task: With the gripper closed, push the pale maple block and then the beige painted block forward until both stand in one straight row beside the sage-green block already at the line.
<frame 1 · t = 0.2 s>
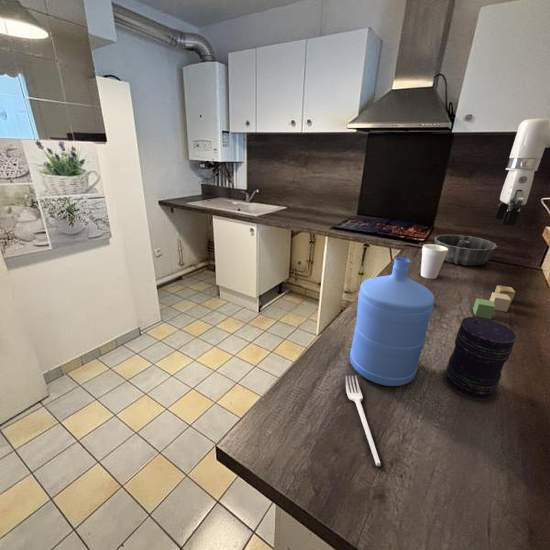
hand: (504, 221, 94), 29 cm above the worktop, tool pointing down, fingers open, 9 cm apart
dark blue cylinder: (467, 384, 67), on the worktop
bundt pan: (459, 260, 147), on the worktop
foam cup: (428, 276, 127), on the worktop
maple block: (502, 299, 107), on the worktop
fork: (361, 418, 58), on the worktop
water jug: (381, 365, 73), on the worktop
sage block: (481, 314, 97), on the worktop
beige block: (497, 307, 101), on the worktop
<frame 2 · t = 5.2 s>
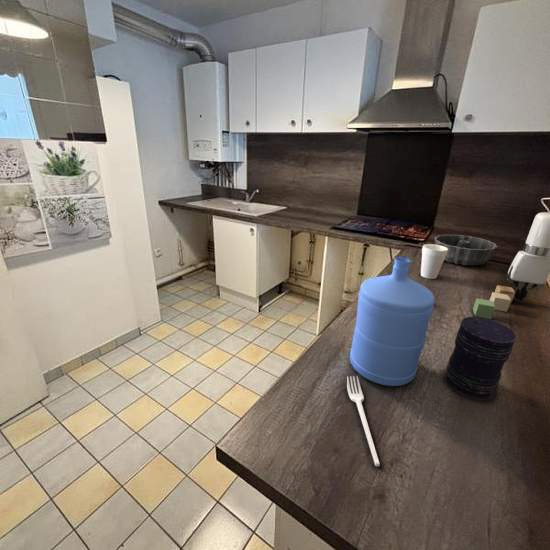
hand: (518, 298, 105), 1 cm above the worktop, tool pointing down, fingers closed
maple block: (502, 299, 107), on the worktop, touching gripper
everything else where it was.
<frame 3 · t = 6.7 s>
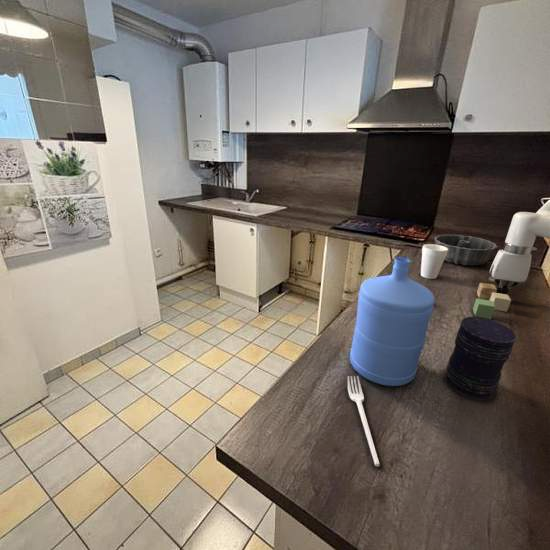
hand: (500, 296, 107), 1 cm above the worktop, tool pointing down, fingers closed
maple block: (484, 296, 109), on the worktop, touching gripper
everything else where it was.
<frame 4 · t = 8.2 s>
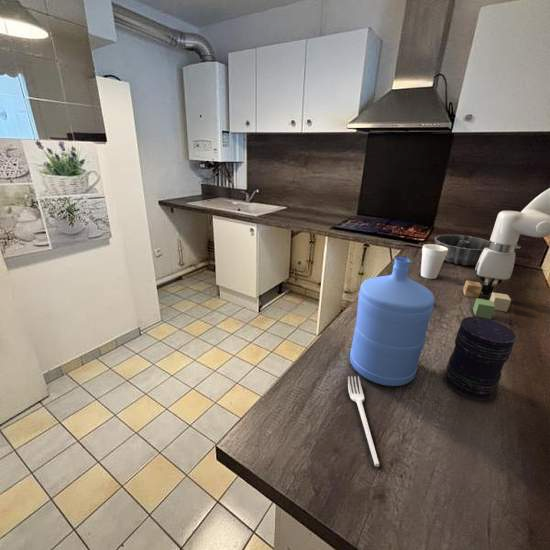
hand: (485, 294, 108), 1 cm above the worktop, tool pointing down, fingers closed
maple block: (470, 294, 111), on the worktop, touching gripper
everything else where it was.
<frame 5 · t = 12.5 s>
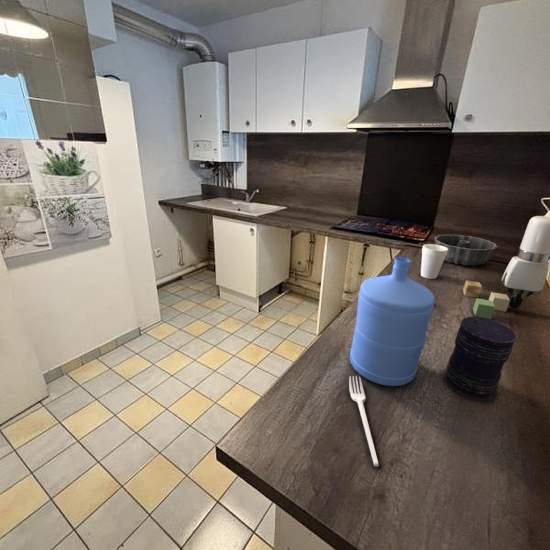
hand: (513, 306, 99), 1 cm above the worktop, tool pointing down, fingers closed
maple block: (470, 294, 111), on the worktop
beige block: (496, 307, 101), on the worktop, touching gripper
everything else where it was.
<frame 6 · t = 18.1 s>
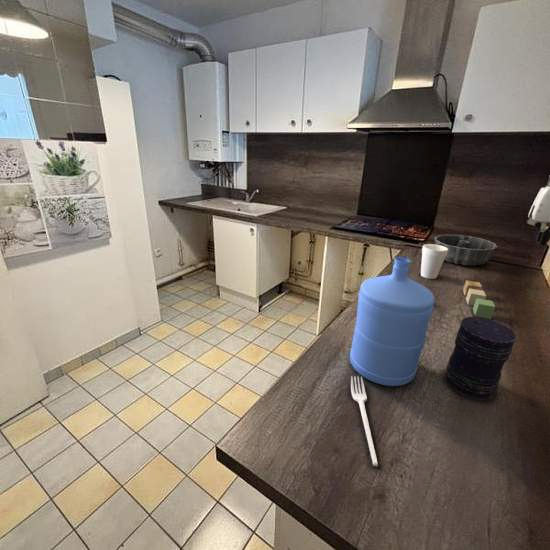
hand: (540, 243, 93), 23 cm above the worktop, tool pointing down, fingers closed
beige block: (473, 303, 104), on the worktop
everything else where it was.
at the end: maple block 0.8 cm from the target spot, on the worktop; beige block 0.9 cm from the target spot, on the worktop; sage block moved 0.0 cm from its start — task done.
